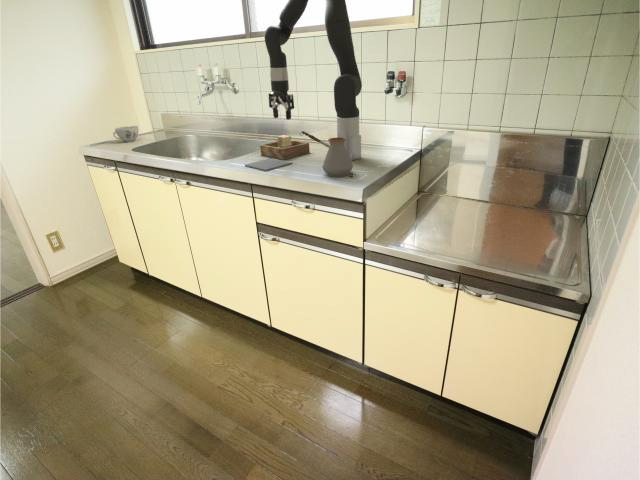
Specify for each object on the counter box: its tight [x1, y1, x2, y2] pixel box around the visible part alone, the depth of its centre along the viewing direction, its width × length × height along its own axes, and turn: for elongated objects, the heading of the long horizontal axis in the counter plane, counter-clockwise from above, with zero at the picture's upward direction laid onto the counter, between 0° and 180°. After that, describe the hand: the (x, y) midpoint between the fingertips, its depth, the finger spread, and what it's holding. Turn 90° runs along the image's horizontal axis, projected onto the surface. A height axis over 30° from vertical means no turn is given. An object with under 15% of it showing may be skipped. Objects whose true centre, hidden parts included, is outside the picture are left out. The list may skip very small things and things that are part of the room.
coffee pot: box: [299, 130, 354, 178], centre depth 141 cm, size 21×12×15 cm, turn 59°
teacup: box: [112, 125, 139, 143], centre depth 222 cm, size 15×12×8 cm
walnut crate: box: [259, 139, 310, 161], centre depth 175 cm, size 16×16×4 cm
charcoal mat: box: [244, 157, 293, 172], centre depth 158 cm, size 14×14×1 cm
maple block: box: [276, 134, 292, 148], centre depth 175 cm, size 4×4×8 cm
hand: (282, 118), depth 170 cm, fingers open, 8 cm apart
